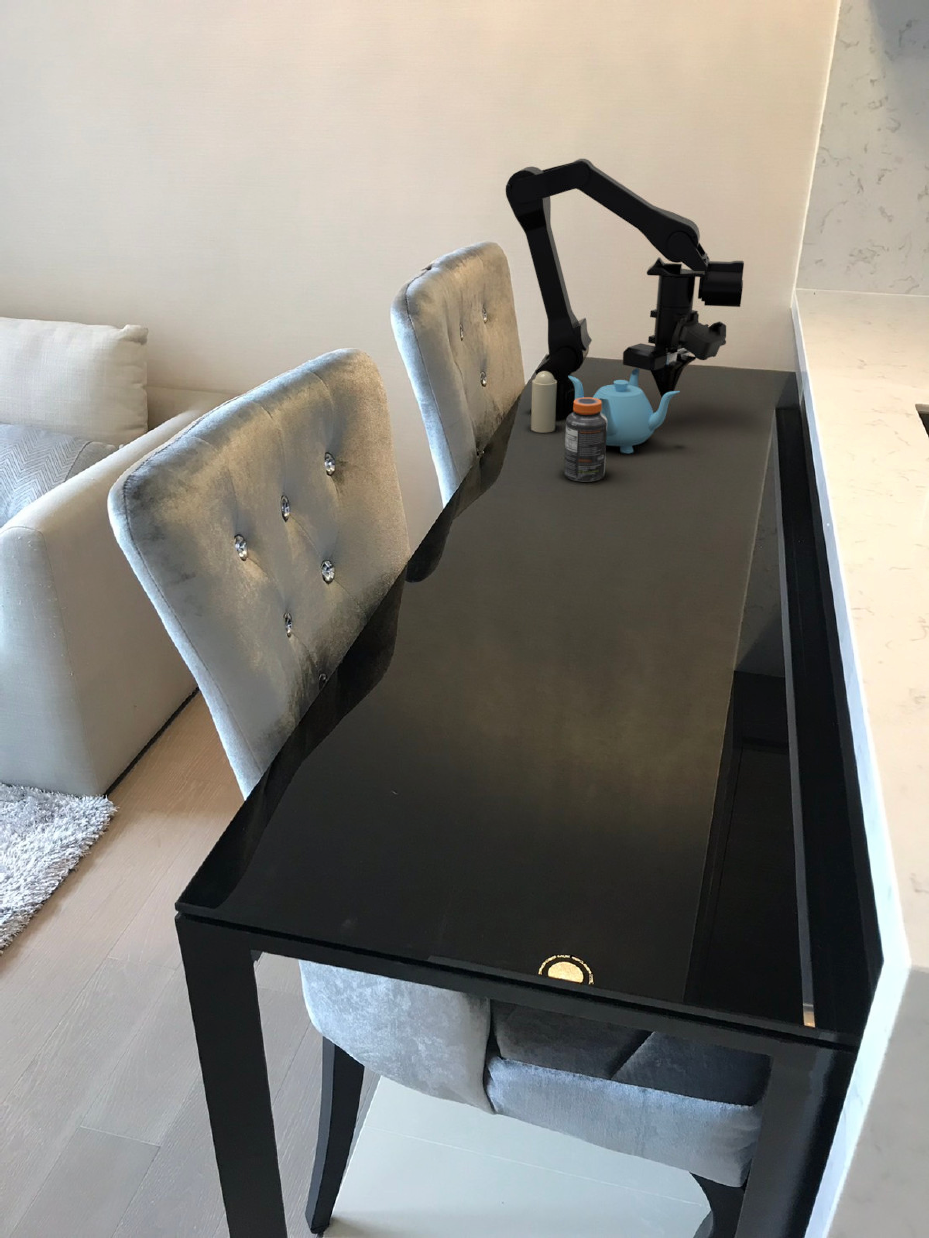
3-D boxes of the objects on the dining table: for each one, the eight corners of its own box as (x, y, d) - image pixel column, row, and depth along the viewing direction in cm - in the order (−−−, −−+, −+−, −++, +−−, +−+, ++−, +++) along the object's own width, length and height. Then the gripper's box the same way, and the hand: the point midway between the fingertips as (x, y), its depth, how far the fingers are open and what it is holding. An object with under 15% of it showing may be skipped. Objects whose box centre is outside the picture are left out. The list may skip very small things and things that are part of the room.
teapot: (564, 435, 163) (566, 374, 158) (637, 426, 166) (642, 366, 161) (597, 462, 152) (600, 397, 147) (675, 452, 155) (681, 388, 150)
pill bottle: (608, 470, 149) (613, 396, 143) (599, 485, 144) (604, 408, 138) (569, 466, 150) (572, 392, 145) (559, 480, 145) (562, 404, 140)
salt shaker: (525, 429, 165) (527, 371, 161) (541, 423, 168) (543, 366, 163) (544, 434, 163) (546, 376, 158) (560, 428, 165) (562, 371, 161)
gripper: (684, 322, 149) (674, 423, 156) (750, 302, 160) (738, 397, 168) (623, 311, 156) (617, 409, 163) (691, 292, 167) (682, 384, 175)
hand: (666, 400), depth 167 cm, fingers closed
